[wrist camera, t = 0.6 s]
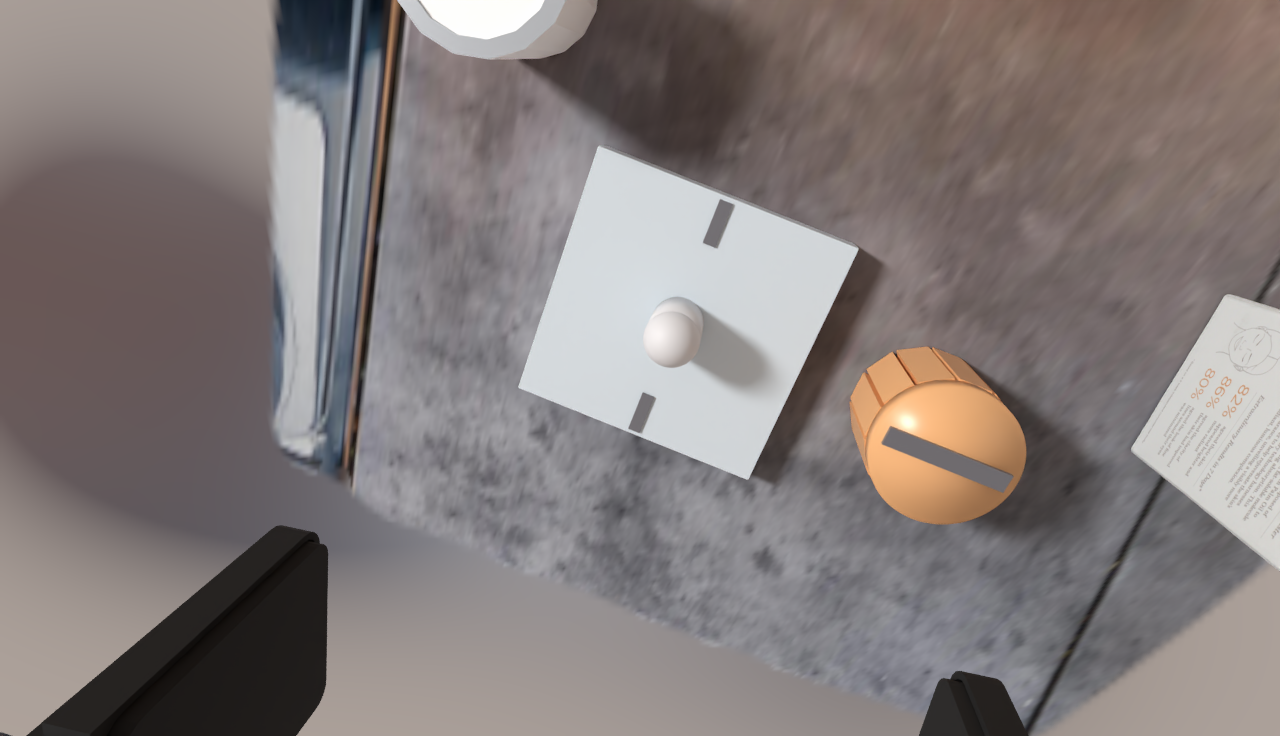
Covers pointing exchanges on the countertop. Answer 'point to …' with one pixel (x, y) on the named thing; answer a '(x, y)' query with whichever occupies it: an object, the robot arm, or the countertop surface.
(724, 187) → the countertop surface
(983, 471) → the cap
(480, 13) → the white cup
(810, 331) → the knob base plate
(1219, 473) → the small box
